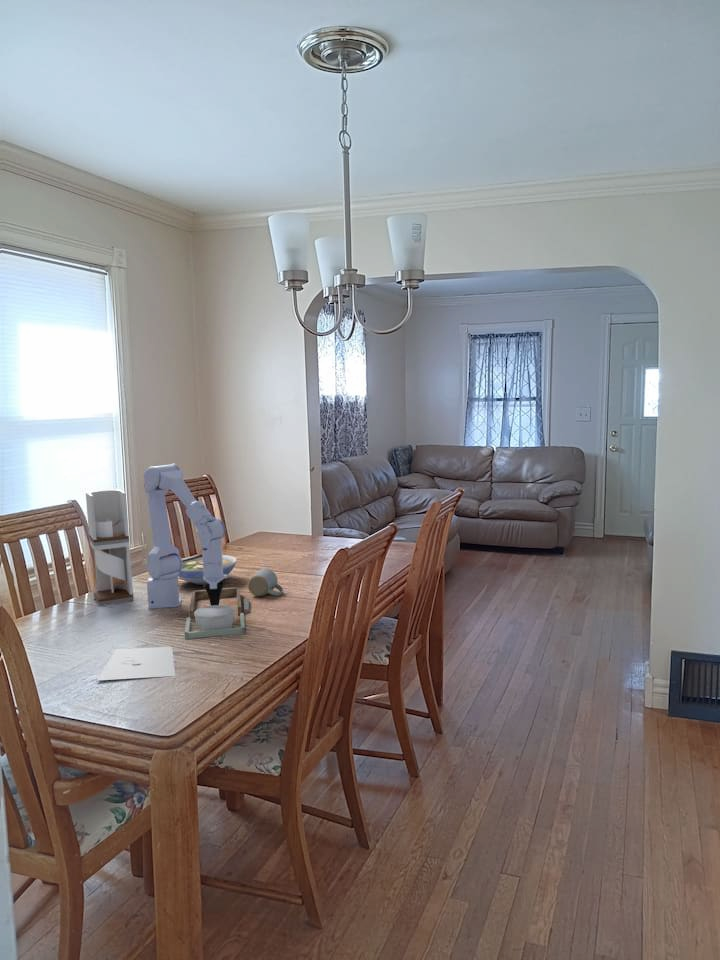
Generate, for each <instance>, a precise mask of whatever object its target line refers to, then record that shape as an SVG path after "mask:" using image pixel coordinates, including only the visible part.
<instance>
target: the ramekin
mask: <svg viewBox="0 0 720 960" xmlns="http://www.w3.org/2000/svg"><path fill="white" fill-rule="evenodd" d="M235 613H236V609H235V607H233V606H231V605H223V604H219V605H213V606H211V605H207V606H202V607H199V608H198V609H196V610H194V618H195V624H196V627H197V631H203V630H215V629H226V628H233V625H234V618H235Z"/></svg>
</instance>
